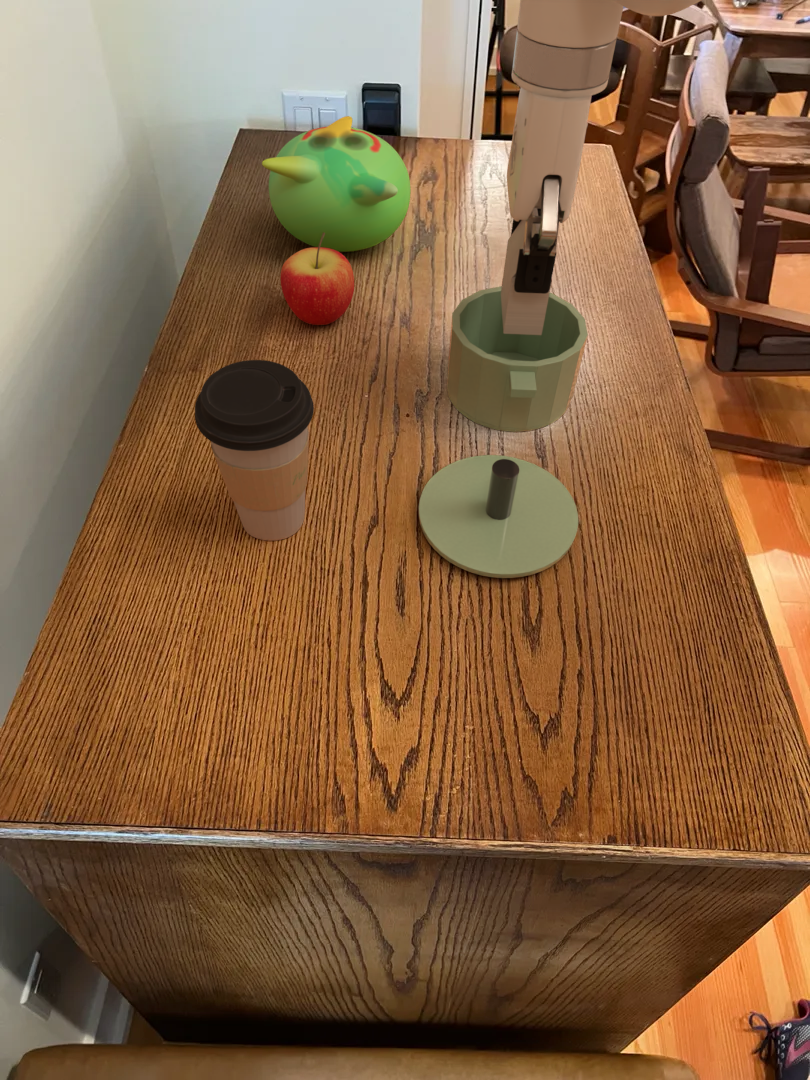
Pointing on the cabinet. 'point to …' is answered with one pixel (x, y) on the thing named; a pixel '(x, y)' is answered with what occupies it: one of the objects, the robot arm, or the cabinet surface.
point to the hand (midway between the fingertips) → (528, 267)
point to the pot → (513, 364)
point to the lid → (498, 516)
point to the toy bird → (339, 187)
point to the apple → (317, 284)
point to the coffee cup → (260, 442)
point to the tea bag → (520, 308)
